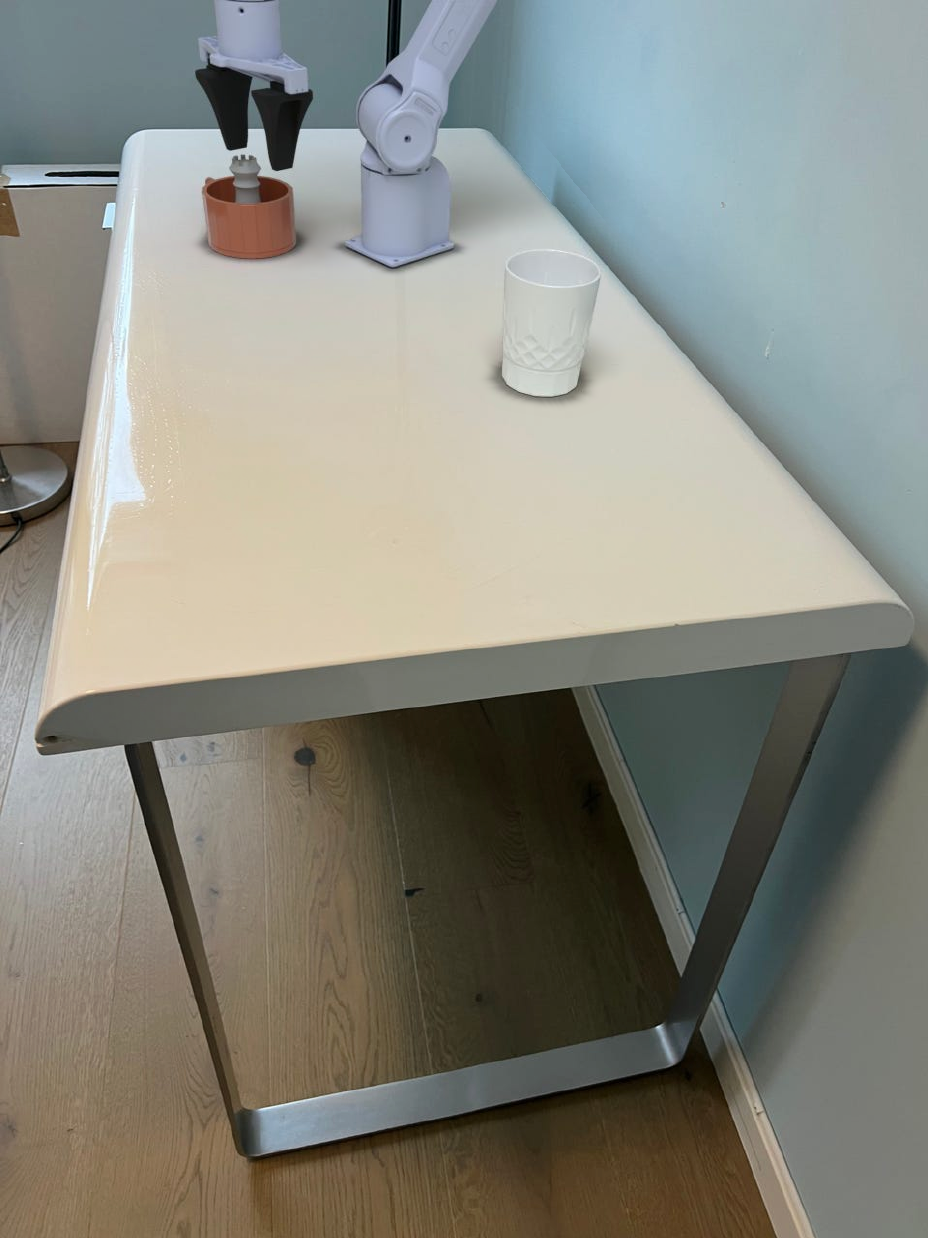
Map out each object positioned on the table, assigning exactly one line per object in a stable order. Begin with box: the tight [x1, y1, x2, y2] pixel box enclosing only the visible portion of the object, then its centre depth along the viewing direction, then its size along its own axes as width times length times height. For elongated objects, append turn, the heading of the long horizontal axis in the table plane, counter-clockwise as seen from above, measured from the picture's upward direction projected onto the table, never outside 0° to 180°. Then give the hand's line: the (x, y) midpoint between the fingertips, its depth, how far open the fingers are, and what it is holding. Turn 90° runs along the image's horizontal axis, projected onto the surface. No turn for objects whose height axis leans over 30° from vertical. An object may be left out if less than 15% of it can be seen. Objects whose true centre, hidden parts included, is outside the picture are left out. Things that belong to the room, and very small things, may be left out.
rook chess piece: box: [228, 154, 262, 204], centre depth 100 cm, size 4×4×8 cm
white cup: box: [501, 248, 602, 398], centre depth 80 cm, size 8×8×10 cm
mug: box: [201, 175, 297, 260], centre depth 102 cm, size 12×9×6 cm
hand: (259, 158), depth 93 cm, fingers open, 7 cm apart
